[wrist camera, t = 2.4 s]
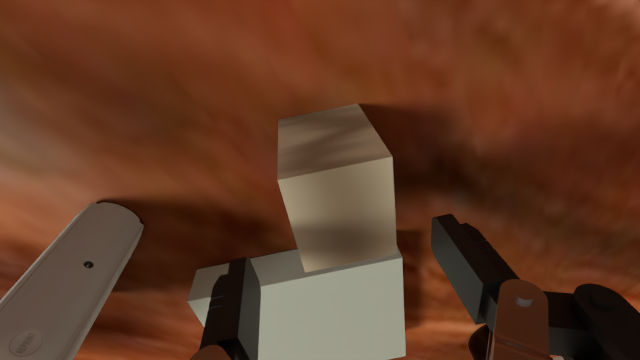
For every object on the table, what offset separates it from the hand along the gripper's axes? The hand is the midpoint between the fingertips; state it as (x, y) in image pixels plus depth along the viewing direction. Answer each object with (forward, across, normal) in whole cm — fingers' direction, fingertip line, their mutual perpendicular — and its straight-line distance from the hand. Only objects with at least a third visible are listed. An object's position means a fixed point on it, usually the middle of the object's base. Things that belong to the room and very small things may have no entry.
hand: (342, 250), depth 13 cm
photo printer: (+9, +17, +4) cm, 20 cm away
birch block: (+9, 0, 0) cm, 9 cm away
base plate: (+9, +3, +15) cm, 18 cm away
